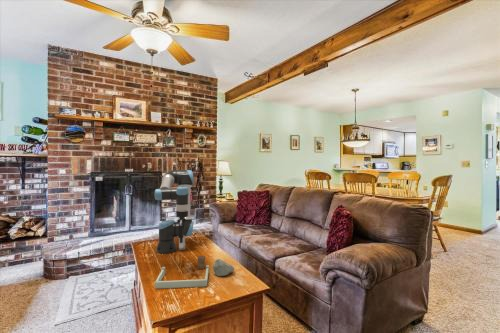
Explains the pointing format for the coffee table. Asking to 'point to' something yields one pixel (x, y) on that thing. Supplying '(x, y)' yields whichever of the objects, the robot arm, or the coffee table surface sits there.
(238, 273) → the coffee table surface
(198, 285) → the bay
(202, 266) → the walnut block
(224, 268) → the decorative stone
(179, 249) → the metal cylinder
